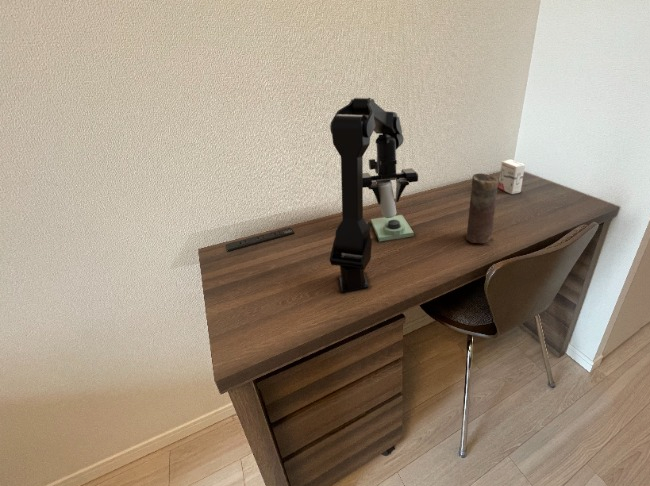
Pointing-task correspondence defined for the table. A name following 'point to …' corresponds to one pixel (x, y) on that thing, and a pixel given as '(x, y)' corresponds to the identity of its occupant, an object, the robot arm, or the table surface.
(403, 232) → the pale green flat piece
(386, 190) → the beverage can
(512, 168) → the ink box
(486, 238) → the candle
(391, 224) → the button
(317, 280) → the table surface
